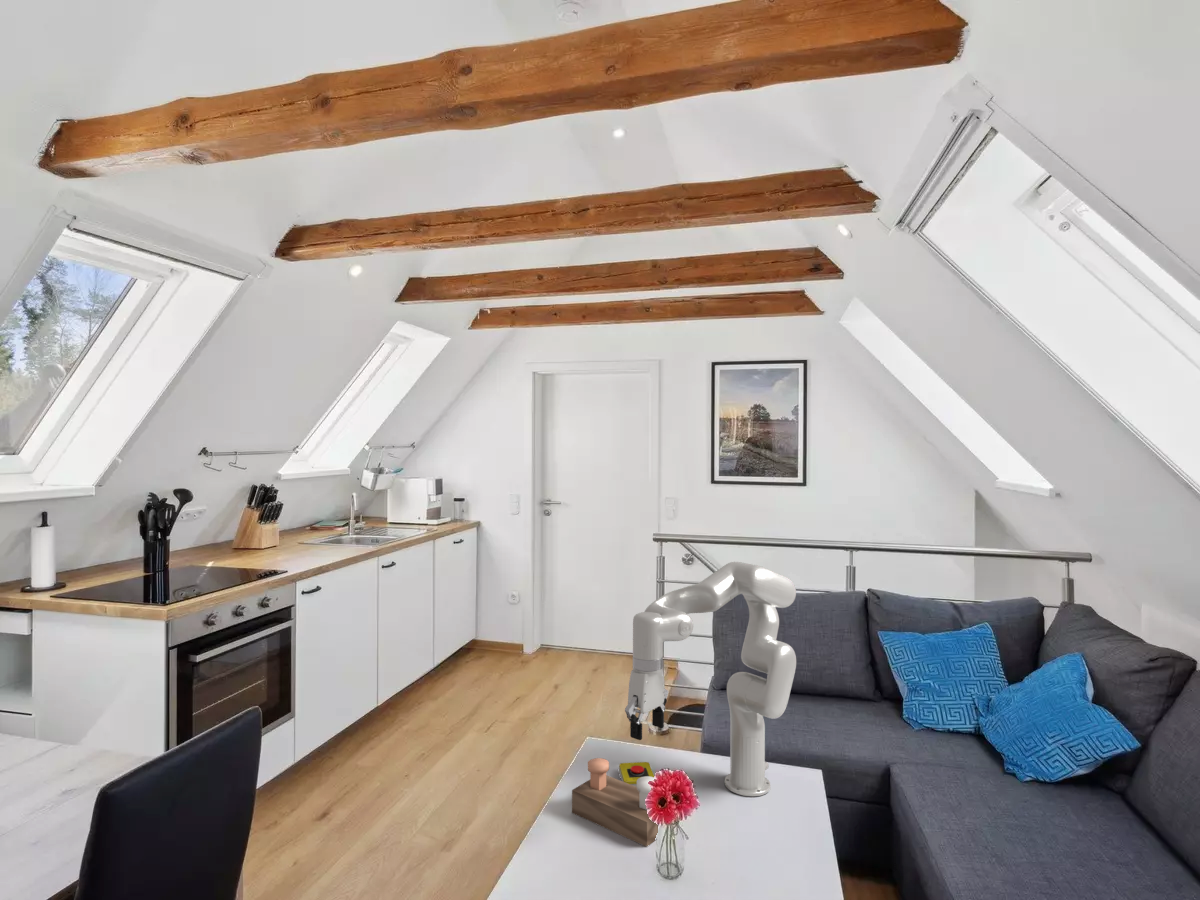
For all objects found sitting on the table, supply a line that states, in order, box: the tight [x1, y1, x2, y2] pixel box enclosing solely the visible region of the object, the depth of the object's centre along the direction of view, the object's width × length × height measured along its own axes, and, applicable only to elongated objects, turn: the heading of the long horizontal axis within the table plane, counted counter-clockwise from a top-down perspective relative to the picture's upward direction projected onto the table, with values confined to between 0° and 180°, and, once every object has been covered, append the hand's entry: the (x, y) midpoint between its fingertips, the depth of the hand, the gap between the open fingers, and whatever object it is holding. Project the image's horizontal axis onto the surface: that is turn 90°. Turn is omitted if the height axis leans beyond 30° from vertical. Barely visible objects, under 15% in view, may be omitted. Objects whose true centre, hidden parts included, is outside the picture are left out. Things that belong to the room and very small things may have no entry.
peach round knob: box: [587, 757, 610, 791], centre depth 179 cm, size 6×6×8 cm
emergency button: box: [618, 761, 655, 787], centre depth 194 cm, size 9×4×15 cm
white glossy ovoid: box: [637, 776, 656, 810], centre depth 169 cm, size 6×6×8 cm
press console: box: [571, 774, 658, 847], centre depth 174 cm, size 12×24×6 cm, turn 51°
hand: (647, 732), depth 169 cm, fingers open, 8 cm apart
